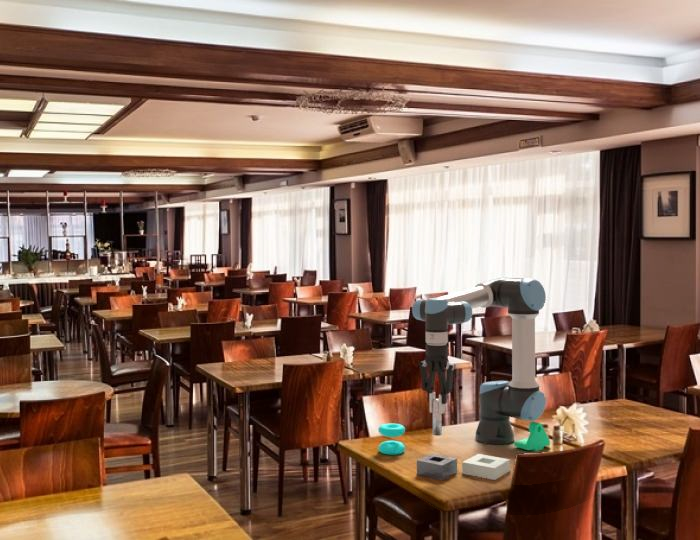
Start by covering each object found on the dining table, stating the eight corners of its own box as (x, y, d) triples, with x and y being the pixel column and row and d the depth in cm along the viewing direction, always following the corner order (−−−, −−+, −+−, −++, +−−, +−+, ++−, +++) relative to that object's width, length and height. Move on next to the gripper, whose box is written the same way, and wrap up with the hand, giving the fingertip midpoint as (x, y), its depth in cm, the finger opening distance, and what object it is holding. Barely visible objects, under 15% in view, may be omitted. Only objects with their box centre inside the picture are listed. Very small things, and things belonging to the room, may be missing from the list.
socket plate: (478, 464, 264) (478, 453, 264) (510, 470, 257) (510, 459, 257) (462, 473, 254) (462, 462, 254) (494, 480, 247) (494, 468, 247)
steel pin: (435, 432, 256) (435, 398, 256) (443, 434, 254) (443, 399, 254) (431, 434, 254) (431, 399, 253) (438, 436, 252) (438, 400, 251)
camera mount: (534, 443, 292) (534, 417, 291) (549, 447, 286) (549, 421, 285) (513, 448, 285) (513, 421, 284) (528, 453, 279) (528, 425, 278)
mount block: (431, 467, 261) (431, 453, 261) (457, 472, 256) (457, 458, 255) (416, 474, 253) (416, 460, 253) (442, 480, 247) (442, 465, 247)
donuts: (384, 430, 274) (374, 423, 284) (384, 457, 275) (374, 449, 284) (409, 427, 277) (399, 421, 287) (409, 454, 278) (399, 447, 287)
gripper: (410, 343, 254) (411, 411, 255) (452, 347, 245) (452, 417, 246) (422, 340, 260) (422, 407, 261) (463, 344, 251) (463, 413, 252)
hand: (437, 412), depth 254 cm, fingers closed on steel pin, 3 cm apart
